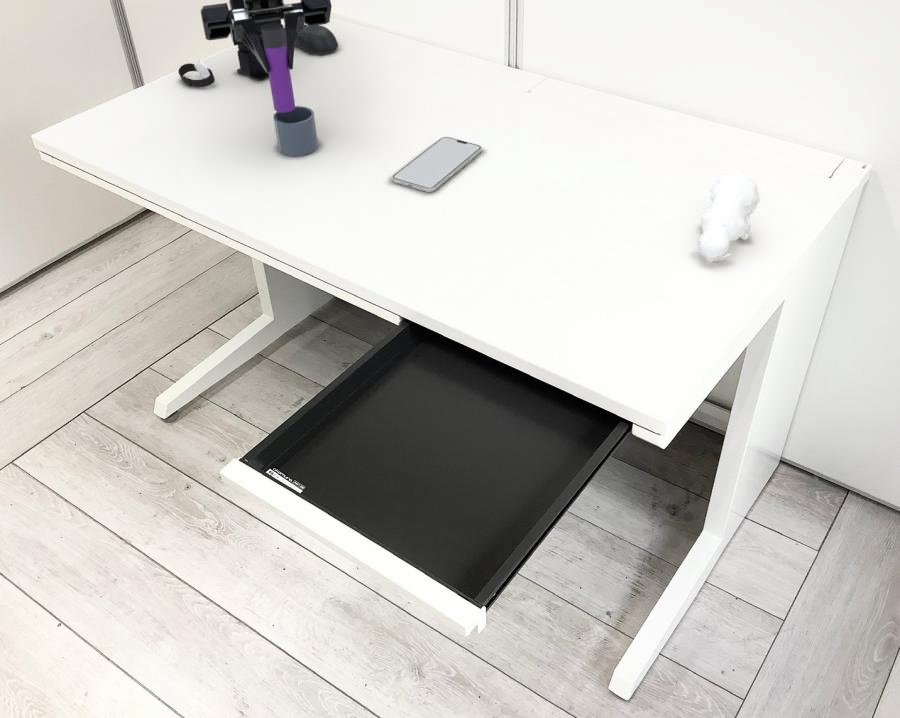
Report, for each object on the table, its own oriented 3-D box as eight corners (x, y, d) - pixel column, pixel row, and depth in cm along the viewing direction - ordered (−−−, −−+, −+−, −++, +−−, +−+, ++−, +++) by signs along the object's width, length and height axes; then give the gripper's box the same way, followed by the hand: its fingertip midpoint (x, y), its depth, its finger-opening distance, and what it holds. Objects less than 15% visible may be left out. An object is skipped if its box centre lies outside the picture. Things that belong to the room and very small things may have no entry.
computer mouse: (313, 62, 167) (311, 41, 164) (263, 44, 174) (259, 24, 172) (352, 45, 173) (350, 25, 170) (301, 28, 180) (298, 9, 177)
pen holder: (298, 134, 145) (294, 102, 141) (326, 144, 142) (322, 112, 138) (270, 149, 141) (265, 117, 137) (298, 160, 138) (293, 127, 134)
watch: (222, 82, 161) (218, 63, 159) (202, 92, 158) (198, 72, 156) (193, 73, 164) (189, 54, 162) (173, 82, 162) (169, 62, 159)
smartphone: (389, 177, 132) (443, 135, 141) (389, 181, 132) (443, 139, 142) (431, 190, 129) (483, 146, 138) (431, 194, 129) (484, 150, 139)
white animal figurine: (767, 172, 114) (741, 225, 107) (756, 225, 120) (730, 279, 113) (718, 161, 116) (689, 212, 109) (709, 214, 122) (681, 266, 115)
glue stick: (281, 102, 138) (268, 21, 130) (299, 105, 137) (287, 24, 129) (270, 111, 136) (256, 29, 128) (288, 114, 135) (275, 32, 127)
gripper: (187, -53, 122) (212, 56, 121) (320, -69, 126) (346, 36, 125) (194, -12, 133) (217, 88, 132) (317, -28, 137) (340, 69, 136)
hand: (279, 70), depth 131 cm, fingers closed on glue stick, 3 cm apart
